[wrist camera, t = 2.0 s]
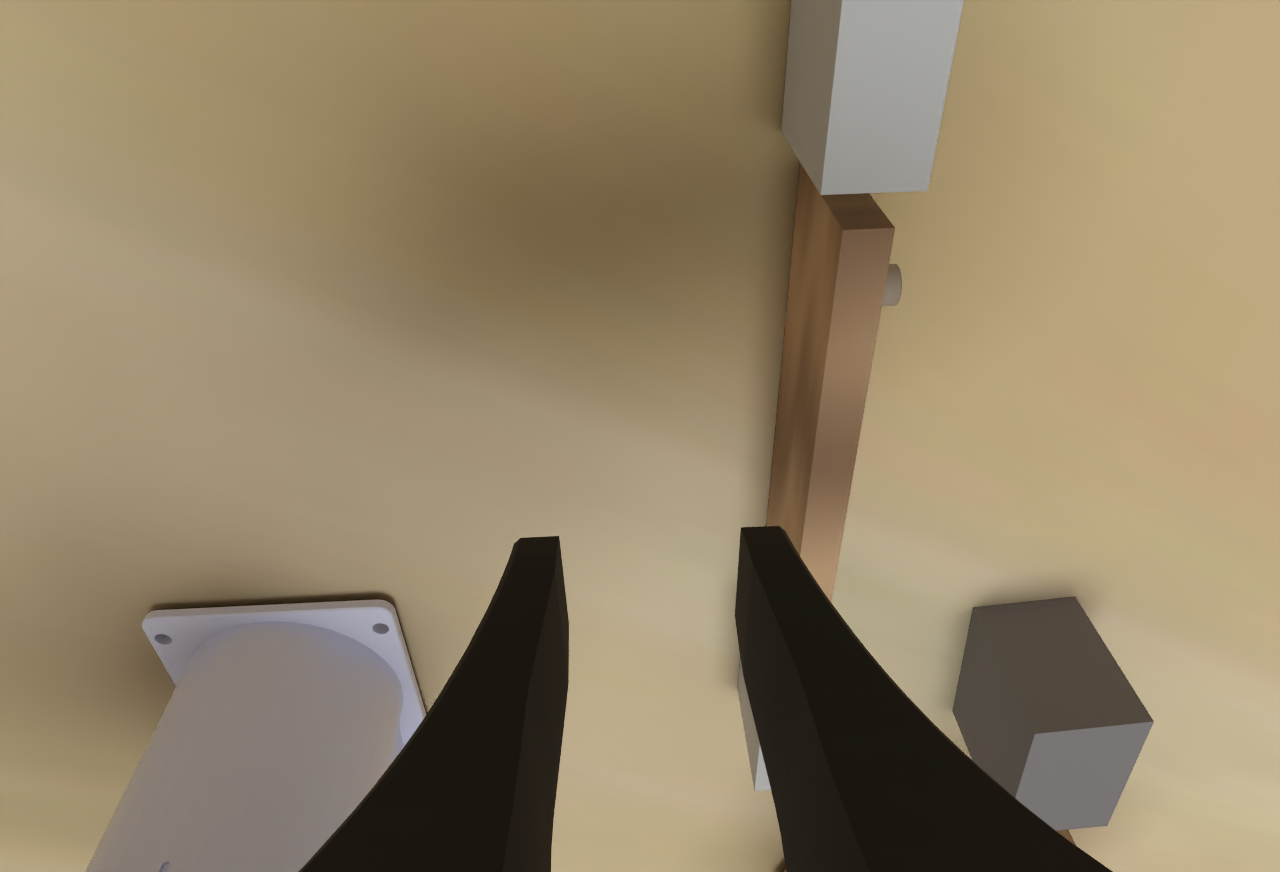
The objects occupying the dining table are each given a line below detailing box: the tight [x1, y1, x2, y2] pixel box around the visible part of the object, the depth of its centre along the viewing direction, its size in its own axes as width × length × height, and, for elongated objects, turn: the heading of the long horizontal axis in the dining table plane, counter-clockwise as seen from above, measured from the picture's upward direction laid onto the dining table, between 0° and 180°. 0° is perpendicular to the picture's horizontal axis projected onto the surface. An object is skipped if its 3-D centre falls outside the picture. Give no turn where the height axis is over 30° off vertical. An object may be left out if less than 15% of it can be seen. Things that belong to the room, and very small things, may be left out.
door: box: [766, 163, 902, 602], centre depth 21 cm, size 12×2×4 cm, turn 1°
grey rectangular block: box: [953, 597, 1154, 831], centre depth 28 cm, size 6×4×5 cm, turn 6°
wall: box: [738, 0, 964, 791], centre depth 21 cm, size 26×2×4 cm, turn 1°
